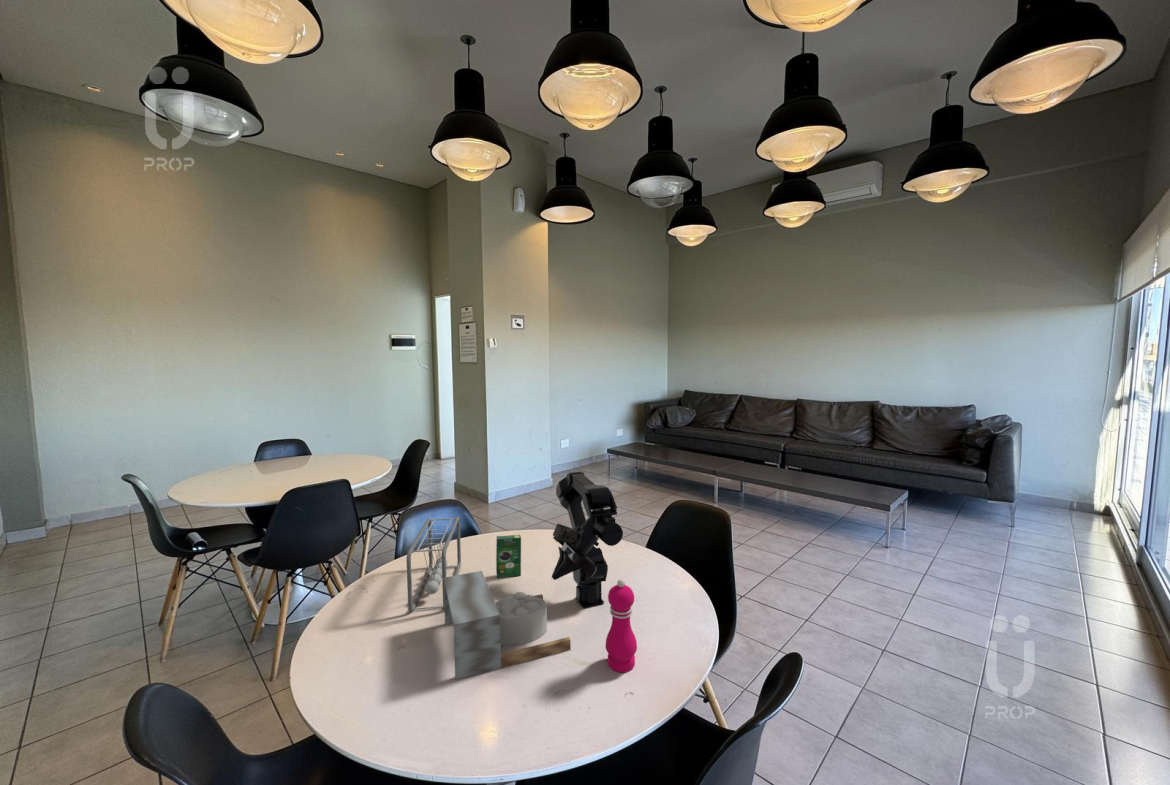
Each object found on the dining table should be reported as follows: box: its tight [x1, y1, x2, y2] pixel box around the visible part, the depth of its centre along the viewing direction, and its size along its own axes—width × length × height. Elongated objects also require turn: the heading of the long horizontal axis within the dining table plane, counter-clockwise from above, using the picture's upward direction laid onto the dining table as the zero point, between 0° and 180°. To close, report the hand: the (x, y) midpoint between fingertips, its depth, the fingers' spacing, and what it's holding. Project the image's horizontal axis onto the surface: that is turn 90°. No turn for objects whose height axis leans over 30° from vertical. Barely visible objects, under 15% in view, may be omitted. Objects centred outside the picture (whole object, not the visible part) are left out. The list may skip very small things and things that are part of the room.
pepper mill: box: [605, 578, 638, 673], centre depth 105 cm, size 7×7×20 cm
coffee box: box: [495, 534, 522, 579], centre depth 148 cm, size 8×3×13 cm, turn 103°
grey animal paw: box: [495, 591, 548, 646], centre depth 118 cm, size 10×13×9 cm
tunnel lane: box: [444, 570, 572, 681], centre depth 116 cm, size 27×23×13 cm
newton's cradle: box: [406, 516, 462, 613], centre depth 141 cm, size 30×10×18 cm, turn 8°
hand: (553, 578), depth 120 cm, fingers closed
